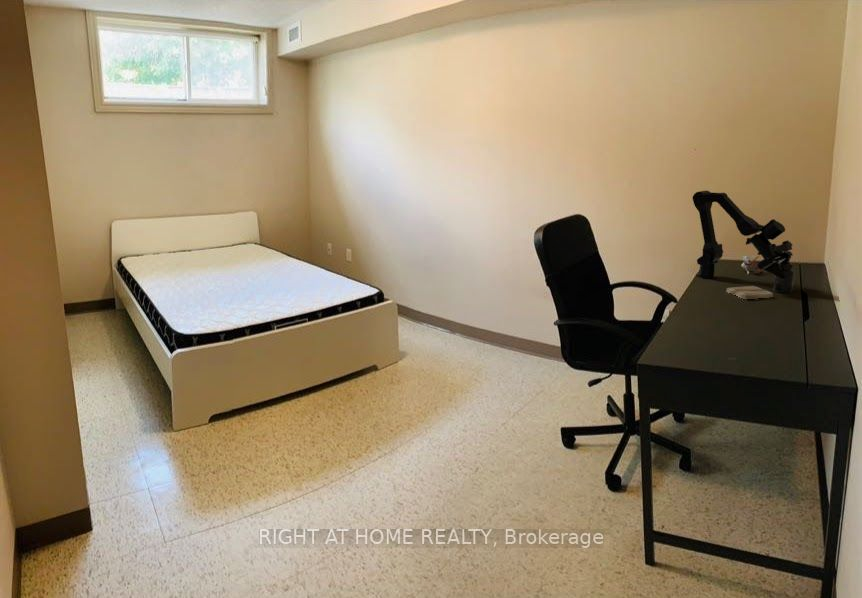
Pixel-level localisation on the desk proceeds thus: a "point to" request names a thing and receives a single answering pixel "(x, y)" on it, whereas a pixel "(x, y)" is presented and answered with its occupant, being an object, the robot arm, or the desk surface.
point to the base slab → (749, 292)
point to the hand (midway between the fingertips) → (788, 276)
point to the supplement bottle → (787, 282)
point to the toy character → (749, 263)
